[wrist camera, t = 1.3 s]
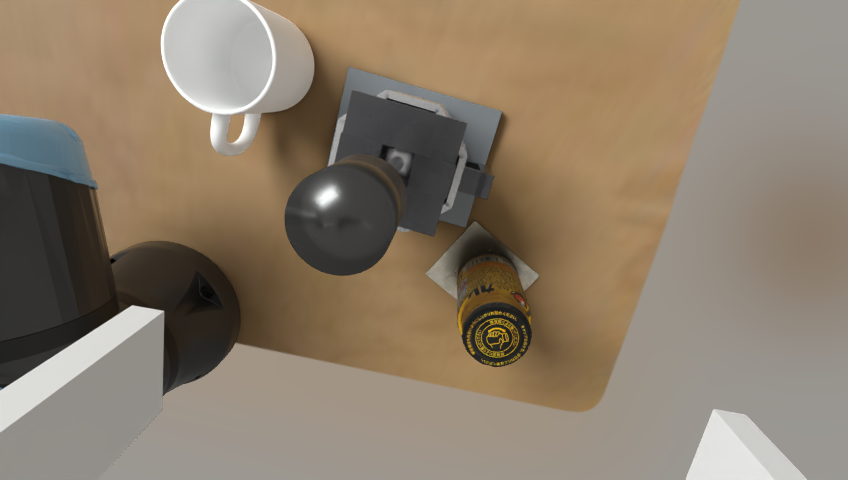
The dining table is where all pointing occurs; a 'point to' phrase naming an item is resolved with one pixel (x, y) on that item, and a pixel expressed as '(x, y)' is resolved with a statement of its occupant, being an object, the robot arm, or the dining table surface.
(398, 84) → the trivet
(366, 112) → the carafe
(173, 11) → the cup
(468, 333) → the condiment
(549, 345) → the dining table surface
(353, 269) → the plunger
